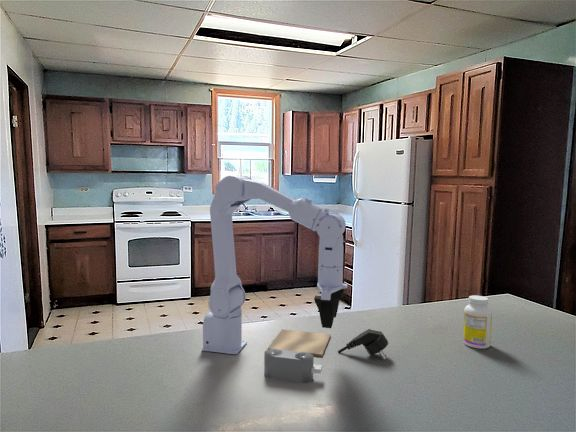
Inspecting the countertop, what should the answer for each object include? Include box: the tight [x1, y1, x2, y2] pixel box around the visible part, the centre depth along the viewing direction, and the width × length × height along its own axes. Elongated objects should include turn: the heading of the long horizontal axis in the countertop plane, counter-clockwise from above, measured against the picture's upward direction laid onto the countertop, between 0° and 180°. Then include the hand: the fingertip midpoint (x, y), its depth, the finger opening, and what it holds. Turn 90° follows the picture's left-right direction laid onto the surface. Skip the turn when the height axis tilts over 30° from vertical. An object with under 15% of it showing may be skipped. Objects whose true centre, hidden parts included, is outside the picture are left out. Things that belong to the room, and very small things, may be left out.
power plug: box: [337, 328, 389, 360], centre depth 102 cm, size 6×8×12 cm
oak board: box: [267, 329, 331, 358], centre depth 109 cm, size 14×14×1 cm
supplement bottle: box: [462, 294, 493, 350], centre depth 109 cm, size 7×7×13 cm
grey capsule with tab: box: [263, 349, 323, 384], centre depth 90 cm, size 13×4×5 cm, turn 76°
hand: (329, 321), depth 97 cm, fingers open, 7 cm apart
